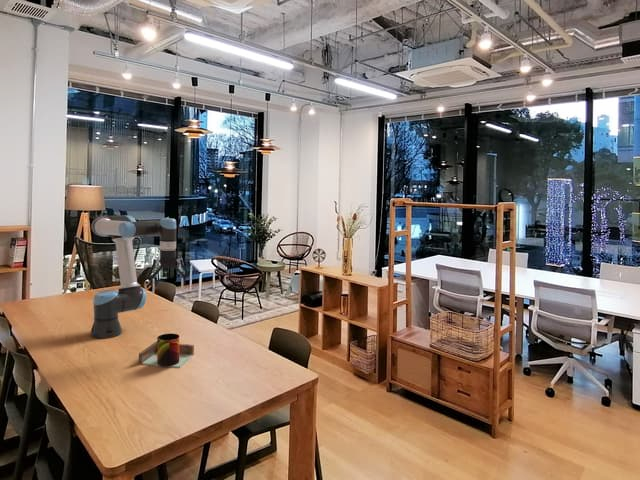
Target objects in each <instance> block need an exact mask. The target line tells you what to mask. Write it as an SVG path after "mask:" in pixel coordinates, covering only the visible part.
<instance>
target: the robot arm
mask: <svg viewBox="0 0 640 480" xmlns="http://www.w3.org/2000/svg"><path fill="white" fill-rule="evenodd" d="M91 230H92V232H93V233H94V234H95V236H96V235H97V236H99V237H105V238H107V237H108V238H109V237H111V241H113V242H114V243H115V249H116V256H117V257H116V258H117V267H118V272H119V273H118V275H119V281H120V286H118V288H117V289H118V290H117V289H112V288H111V289H105V290H101V291H98V292H96V293H95V294H94V296H93V302H92V303H93V323H92V327H91V330H90V336H91V337H92V338H94V339H109V338H113V337H114V338H115V337H118V336H120V335H121V334H122V333H123V329H122V325H121V324H120V323H121V322H120V320H119V314H120V313H126V312H130V311H136V310H139V309H140V310H141V309H142V308H143V307H144V306H145V304H146V302H147V292H146V290H145V289H144V288H142V287H141V284H139V283H138V278H137V269H136V263H135V254H134V246H133V240H134V239H135V238H140V237H141V238H142V237H159V249H160V251H159V255H160V256H159V259H156V258H153V261H152V264H151V266H150V268H149V270H148V272H147V274H146V275H145V277H146V279H149V285H150V286H151V287H152V293H153V294H155V277H156V276H157V275H158V274H159V273H160V272H161V270H163V269H172V268H174V269H175V270H176V272H178V274H180V276H181V278H180V279H181V281H180V282H181V283H180V288H181V289H180V290H181V292H184V285H186V279H187V278H188V277H189V278H190V274H189V272H188V270H187V268H186V266H185V265H184V260H183V258H179V259H177V250H176V249H177V220H176V219H175V218H170V217H167V218H166V217H165V218H164V217H163V218H160V220H156V219H155V220H150V221H149V220H148V221H142V220H141V221H137V220H136V219H135V218H134V216H132V215H125V214H124V215H122V214H121V215H101V216H98V217H96V218H95V219H94V220H93V221H92V223H91ZM158 263H159V264H160V265H159V266H158V268H157V269H156V270H155V267H156V265H157V264H158ZM177 263H178V264H180V265H181V268H182V269H183V271H184V273H183V272H182V271H181V269H180V268H179V267H178V266H177V265H176V264H177ZM153 270H155V271H154V272H153ZM152 272H153V273H152Z"/></svg>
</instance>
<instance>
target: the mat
mask: <svg viewBox="0 0 640 480" xmlns="http://www.w3.org/2000/svg"><path fill="white" fill-rule="evenodd" d="M192 357H194V355H189V354H179V363H178V364H176V365H173V366H165V367H166V368H167V367H168V368H180V369H181V367H182V366H184V365H185V364H186V362H188V361H189V360H190V359H191V358H192ZM141 365H146V366H147V365H148V366H155V367H156V366H157V367H161V366H160V365H158V364H157V352H156V353H155V354H154V355H152V356H151V357H150V358H148V359H147V360H146V361H144V362H143V363H142V364H141Z"/></svg>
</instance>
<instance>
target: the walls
mask: <svg viewBox="0 0 640 480" xmlns="http://www.w3.org/2000/svg"><path fill="white" fill-rule="evenodd" d="M156 352H157V341H154V342H153V343H152V344H151V345H149V346H148V347H146V348H145V349H143V350H141V352H139V353H138V365H143V364H142V363H143V362H144V361H146V360H147V359H148V358H150V357H151V356H152V355H154V354H155V353H156ZM179 354H189V355H193V356H194V355H195V344H189V343H187V344H186V343H179Z"/></svg>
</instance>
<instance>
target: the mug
mask: <svg viewBox="0 0 640 480" xmlns="http://www.w3.org/2000/svg"><path fill="white" fill-rule="evenodd" d="M156 339H157V340H156V342H157V364H158V365H160V366H159V367H166V366H173V365H176V364H178V363H179V344H180V335H179V334H178V333H171V332H170V333H163V334H160V335H158V336H157V338H156Z"/></svg>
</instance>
